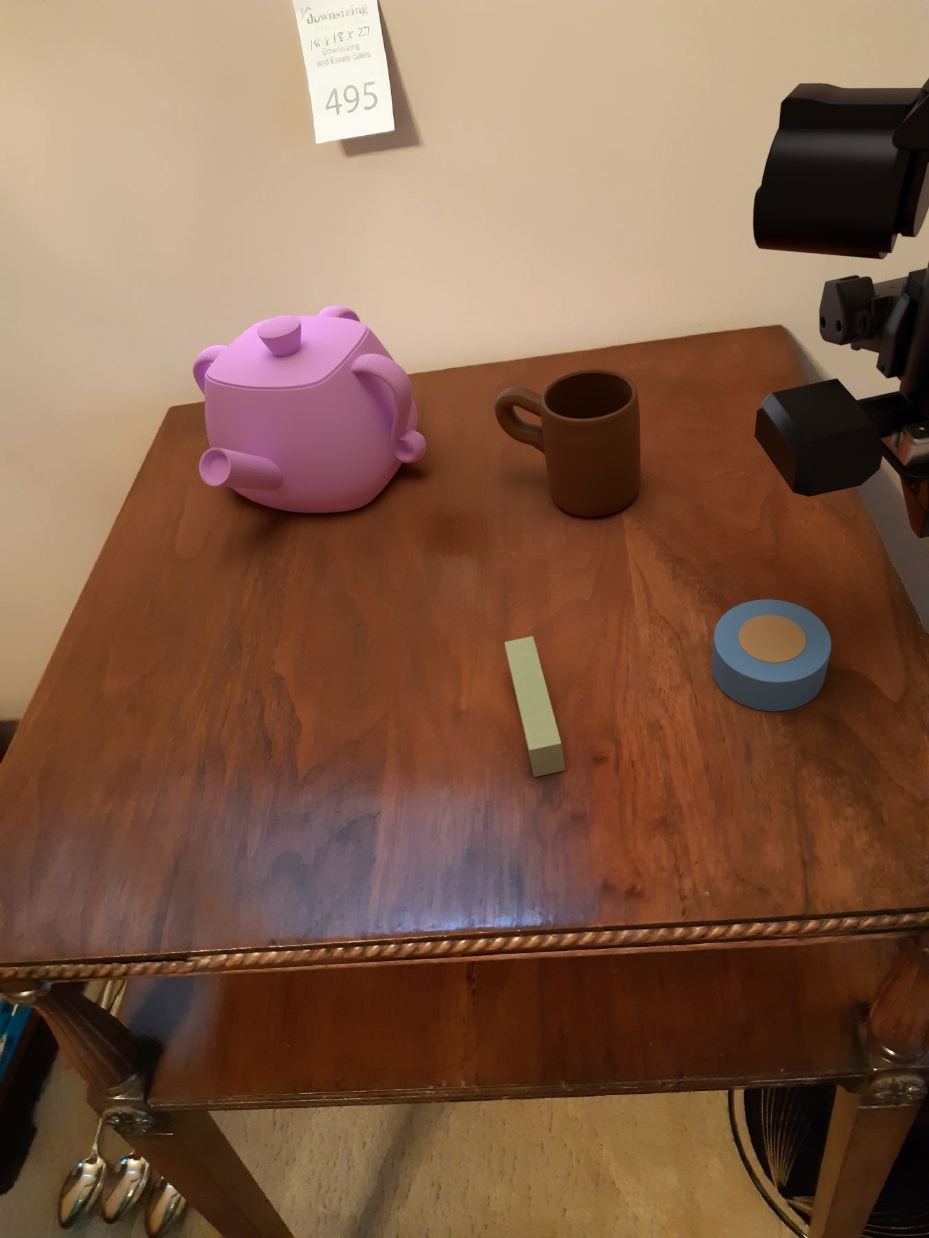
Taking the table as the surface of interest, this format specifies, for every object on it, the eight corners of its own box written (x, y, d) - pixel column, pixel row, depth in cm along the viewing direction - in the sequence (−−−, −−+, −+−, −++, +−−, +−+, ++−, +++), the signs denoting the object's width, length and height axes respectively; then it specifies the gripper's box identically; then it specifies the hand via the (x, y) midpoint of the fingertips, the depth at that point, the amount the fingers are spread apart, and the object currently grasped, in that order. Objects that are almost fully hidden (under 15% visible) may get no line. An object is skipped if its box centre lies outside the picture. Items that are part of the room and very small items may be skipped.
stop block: (537, 664, 59) (533, 635, 56) (565, 770, 52) (561, 743, 50) (509, 670, 59) (504, 641, 56) (534, 777, 52) (528, 750, 50)
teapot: (398, 388, 87) (363, 251, 77) (455, 499, 73) (421, 349, 63) (221, 444, 86) (161, 312, 75) (243, 569, 71) (172, 427, 61)
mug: (488, 503, 72) (470, 409, 65) (523, 451, 76) (510, 358, 69) (623, 527, 67) (619, 428, 60) (653, 470, 71) (652, 371, 64)
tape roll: (798, 620, 57) (803, 588, 55) (843, 698, 52) (852, 667, 50) (697, 641, 58) (698, 610, 55) (733, 721, 53) (736, 691, 50)
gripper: (1092, 158, 42) (1001, 421, 53) (726, 241, 43) (712, 484, 54) (1270, 244, 34) (1121, 531, 45) (820, 344, 35) (781, 604, 46)
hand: (921, 532), depth 48 cm, fingers closed
